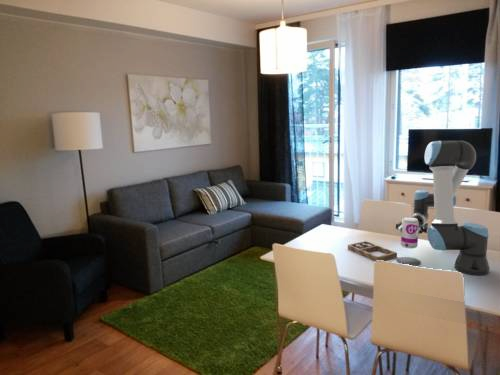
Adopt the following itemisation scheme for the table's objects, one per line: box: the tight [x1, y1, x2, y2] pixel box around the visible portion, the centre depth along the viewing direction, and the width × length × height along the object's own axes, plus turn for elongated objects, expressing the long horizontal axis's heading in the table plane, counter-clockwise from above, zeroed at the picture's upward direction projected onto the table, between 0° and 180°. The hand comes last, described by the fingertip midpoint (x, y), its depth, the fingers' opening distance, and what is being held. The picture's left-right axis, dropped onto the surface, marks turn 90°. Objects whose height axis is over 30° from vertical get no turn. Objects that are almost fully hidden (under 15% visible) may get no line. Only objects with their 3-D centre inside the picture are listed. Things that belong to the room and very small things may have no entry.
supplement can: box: [400, 216, 419, 249], centre depth 206 cm, size 8×8×15 cm
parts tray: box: [347, 240, 398, 262], centre depth 223 cm, size 24×14×3 cm, turn 26°
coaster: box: [396, 256, 422, 267], centre depth 208 cm, size 12×12×1 cm
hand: (407, 232), depth 202 cm, fingers closed on supplement can, 8 cm apart
